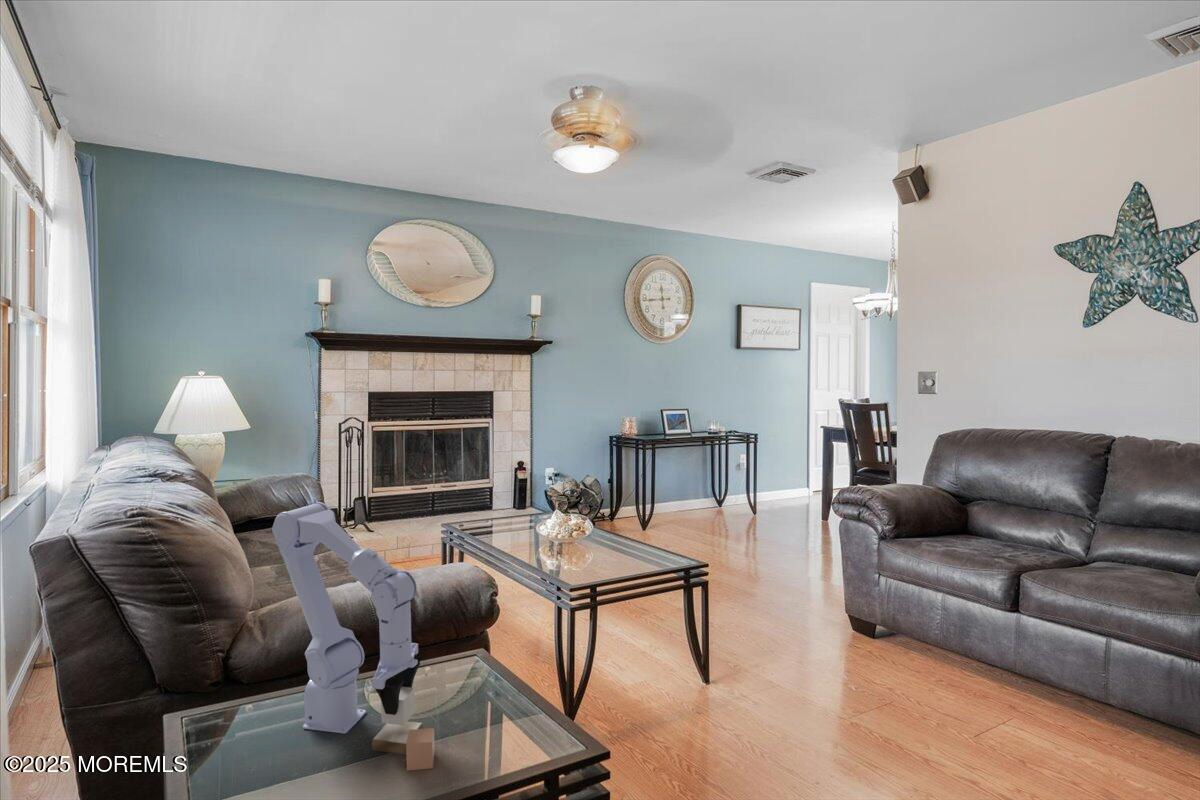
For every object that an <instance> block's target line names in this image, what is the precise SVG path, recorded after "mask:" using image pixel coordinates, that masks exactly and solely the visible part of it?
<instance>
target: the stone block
mask: <svg viewBox="0 0 1200 800" xmlns="http://www.w3.org/2000/svg"><path fill="white" fill-rule="evenodd" d="M380 706H381V707H380V711H381V724H386V723H387V724H395V725H403V726H404V725H405V724H406V722H407V721H409V720H410V719H411V718H412V716H413V715H414V714H416V713H415V711H416V708H415V687H412V688H410V687H401V690H400V694H399V704H398V711H397V713H396V715H391V714H385V711H384V708H383V704H382V701H381V700H380Z"/></svg>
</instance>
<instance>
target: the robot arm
mask: <svg viewBox="0 0 1200 800" xmlns="http://www.w3.org/2000/svg"><path fill="white" fill-rule="evenodd" d="M271 531H272V534H273V536H274V537H273V538H274V540H275V542H276V545H277V548H278V551H279V553H280V555H281V556H282V560H283V562H284V565H285V566H286V569H287V572H288V576H289V578H290V580H291V583H292V586H293V589H294V591H295V594H296V597H297V599H298V601H299V605H300V607H301V610H302V612H303V615H304V618H305V621H306V623H307V627H308V629H309V631H310V634H311V637H312V639H311V642H310V643H309V645H308V646H307V649H306V650H305V652H304V656H305V660H306V663H307V674H308V677H309V681H308V682H307V684H306V686H305V690H304V693H303V694H304V695H303V696H304V697H303V702H304V703H303V704H304V724H303V725H302V729H305V730H313V731H320V732H329V733H336V734H337V733H338V734H345V735H346V734H347V733H348V732H349V731H350V730H351V729H352V728H353V727H354V726H355V725H356V724H357V722H359V721H360V720H361V719H362V717H364V716H365V714H366V713H367V710H366V709H362V708H361V709H360V708H358V698H357V697H358V694H357V693H358V692H357V691H358V690H357V689H358V688H357V675H358V674H360V669H359V668H360V667H361V666H363V664H364V661H365V651H364V649H363V646H362V645H361V643H360V642H359V640H357V638H356V637H355V634H354V632H353V630H352V629H348V628H345V627H343V626H341V625H340V623H339V620H338V616H337V614H336V611H335V610H334V606H333V603H332V601H331V598H330V596H329V594H328V590H327V588H326V586H325V585H326V584H325V583H324V580H323V577H322V574H321V572H320V569H319V567H318V563H317V561H316V559H315V558H316V557H315V556H314V552H315V550H316V547H317V546H318V545H319V543H321V544H322V545H324V546H325V547H326V548H328V549H329V550H330V551H332V552H333V553H334V554H336V555H337V556H338V557H339V558H341V559H342V560H344V561H345V562H346V563H348V565H347V566H348V570H347V571H348V572H349V573H348V574H350V575H351V576H352V577H353V578H354V579H356V581H358V582H359V583H360V584H361V585H362V586H363V587H364V588H366V590H368V591H369V592H370V598H371V601H372V604H373V605H374V607H375V611H376V616H377V618H378V625H379V627H378V628H379V629H378V630H379V656H380V657H379V658H380V659H379V662H378V664H377V669H376V671H375V674H374V676H373V677H372V678H371V688H372V689H373V690H375V691H376V693H377V694H378V696H379V698H380V702H381V701H382V704H383V708H384V711H385V714H391V715H396V713H397V711H398V704H399V694H400V690H401V687H410V688H413V683H414V680H415V676H416V674H417V673H418V669H419V668H420V665H421V661H420V660H419V659H415V656H417V654H418V653H419V643H416V642H412V611H411V600H413V598H415V596H416V594H417V592H418V591H417V589H418V586H417V583H416V580H415V578H414V576H413V575H412V574H411V573H410V572H409V571H407V570H404V569H402V570H400V569H398V568H393V567H392V566H391V565H390V564H389V563H388V562H386V561H385V559H383V558H382V557H381V556H379V554H378V552H376V551H375V550H374V549H372V548H371V549H370V548H366V549H362V548H361V547H360V546H359V545H358V544H357V543H356V541H354V539H353V538H351V536H350V535H349V534H348V533H347V532H346V531H345V530H344V529H343V528H342V527H341V526H340V525H339V524H338V522H336V514H335V512H334V510H332V509H330V507H328V505H327V504H326V503H324V502H320V501H317V502H314V503H312V504H310V505H306V506H303V507H299V508H295V509H292V510H288V511H282V512H280V513H278V514H277V516H276V517H275V519H274V522H273V524H272V528H271Z"/></svg>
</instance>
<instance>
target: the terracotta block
mask: <svg viewBox="0 0 1200 800" xmlns="http://www.w3.org/2000/svg"><path fill="white" fill-rule="evenodd" d="M435 752H436V751H435V727H428V728H423V729H414V730H409V733H408V738H407V743H406V754H405V755H406V771H418V770H419V771H420V770H427V769H433V768H434V761H435Z"/></svg>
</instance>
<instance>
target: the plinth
mask: <svg viewBox="0 0 1200 800" xmlns="http://www.w3.org/2000/svg"><path fill="white" fill-rule="evenodd" d="M414 729H424V723H423V722H417V721H409V720H408V721H407V722H406V724H405V725H404V726H403V725H395V724H387V723H385V724H384V725H383V727H382V728H381V729H380V730H379V732H378V733H376V735H375V736H374V737H373V739H372V740H371V747H372V748H371V750H372V751H375V752H381V753H382V752H383V753H392V754H398V755H406V743H407V738H408V733H409V730H414Z"/></svg>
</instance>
